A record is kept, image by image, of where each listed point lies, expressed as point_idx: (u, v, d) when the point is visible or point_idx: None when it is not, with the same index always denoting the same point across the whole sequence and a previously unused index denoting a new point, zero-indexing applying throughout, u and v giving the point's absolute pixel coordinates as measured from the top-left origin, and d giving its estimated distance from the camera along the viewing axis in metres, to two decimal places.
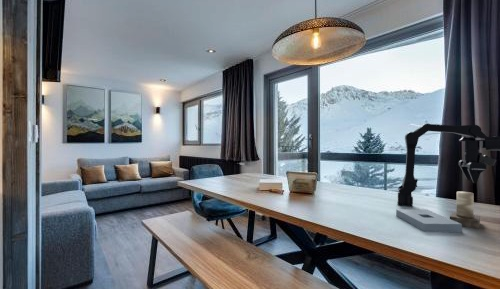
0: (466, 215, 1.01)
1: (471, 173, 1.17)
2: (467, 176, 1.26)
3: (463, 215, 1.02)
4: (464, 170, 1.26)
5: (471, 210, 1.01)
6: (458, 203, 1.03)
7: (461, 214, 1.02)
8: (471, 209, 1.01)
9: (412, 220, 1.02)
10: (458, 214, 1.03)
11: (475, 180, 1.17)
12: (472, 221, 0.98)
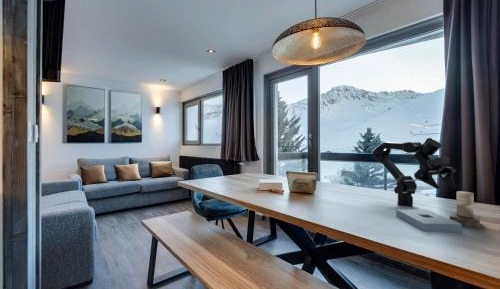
0: (466, 215, 1.01)
1: (426, 182, 1.15)
2: (450, 184, 1.14)
3: (463, 215, 1.02)
4: (445, 180, 1.17)
5: (471, 210, 1.01)
6: (458, 203, 1.03)
7: (461, 214, 1.02)
8: (471, 209, 1.01)
9: (412, 220, 1.02)
10: (458, 214, 1.03)
11: (435, 186, 1.11)
12: (472, 221, 0.98)
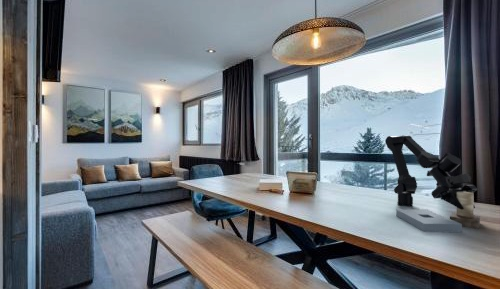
0: (466, 215, 1.01)
1: (448, 201, 1.06)
2: None
3: (463, 215, 1.02)
4: None
5: (471, 210, 1.01)
6: None
7: (461, 214, 1.02)
8: (471, 209, 1.01)
9: (412, 220, 1.02)
10: (458, 214, 1.03)
11: (460, 206, 1.02)
12: (472, 221, 0.98)
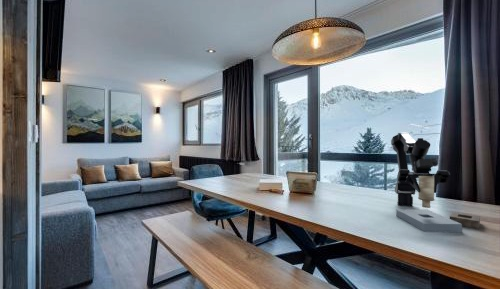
0: (423, 198, 1.03)
1: (411, 184, 1.09)
2: None
3: (420, 198, 1.04)
4: None
5: (428, 193, 1.02)
6: None
7: (419, 197, 1.04)
8: (428, 192, 1.02)
9: (412, 220, 1.02)
10: (418, 197, 1.06)
11: (417, 189, 1.05)
12: (472, 221, 0.98)
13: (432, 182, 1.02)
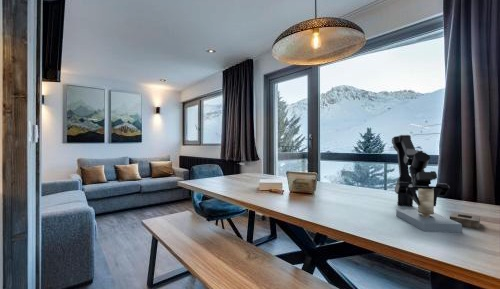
0: (422, 211, 1.03)
1: (411, 197, 1.09)
2: None
3: (420, 211, 1.04)
4: None
5: (427, 207, 1.02)
6: None
7: (419, 210, 1.05)
8: (427, 206, 1.02)
9: (412, 220, 1.02)
10: (418, 210, 1.06)
11: (417, 202, 1.05)
12: (472, 221, 0.98)
13: (432, 195, 1.02)
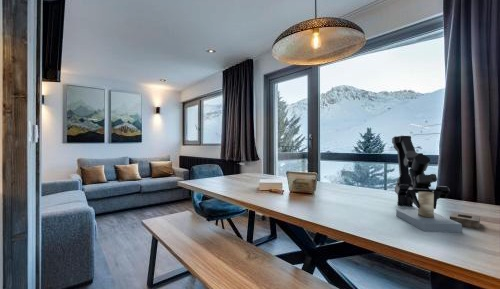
0: (422, 214, 1.03)
1: (411, 199, 1.09)
2: None
3: (420, 214, 1.04)
4: None
5: (427, 210, 1.02)
6: None
7: (419, 213, 1.05)
8: (427, 209, 1.02)
9: (412, 220, 1.02)
10: (418, 213, 1.06)
11: (417, 205, 1.05)
12: (472, 221, 0.98)
13: (432, 198, 1.02)
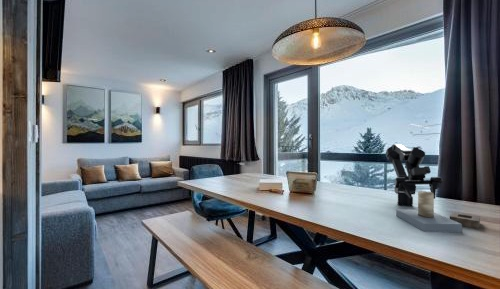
0: (422, 214, 1.03)
1: (403, 191, 1.18)
2: None
3: (420, 214, 1.04)
4: (431, 190, 1.15)
5: (427, 210, 1.02)
6: (418, 202, 1.06)
7: (419, 213, 1.05)
8: (427, 209, 1.02)
9: (412, 220, 1.02)
10: (418, 213, 1.06)
11: (409, 196, 1.14)
12: (472, 221, 0.98)
13: (431, 198, 1.02)
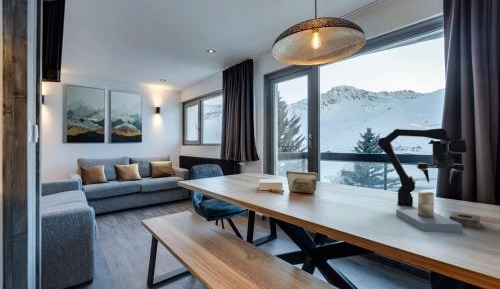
0: (422, 214, 1.03)
1: (424, 173, 1.30)
2: (450, 179, 1.24)
3: (420, 214, 1.04)
4: (450, 173, 1.25)
5: (427, 210, 1.02)
6: (418, 202, 1.06)
7: (419, 213, 1.05)
8: (427, 209, 1.02)
9: (412, 220, 1.02)
10: (418, 213, 1.06)
11: (427, 180, 1.28)
12: (472, 221, 0.98)
13: (431, 198, 1.02)
